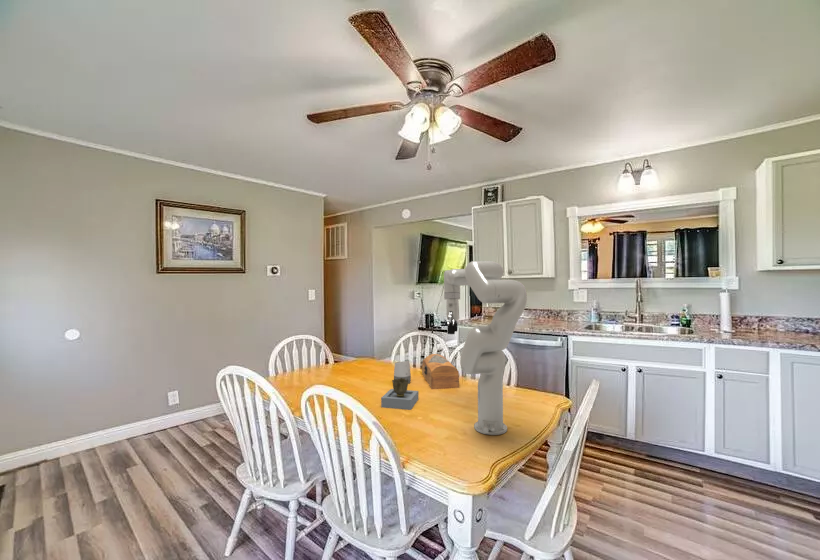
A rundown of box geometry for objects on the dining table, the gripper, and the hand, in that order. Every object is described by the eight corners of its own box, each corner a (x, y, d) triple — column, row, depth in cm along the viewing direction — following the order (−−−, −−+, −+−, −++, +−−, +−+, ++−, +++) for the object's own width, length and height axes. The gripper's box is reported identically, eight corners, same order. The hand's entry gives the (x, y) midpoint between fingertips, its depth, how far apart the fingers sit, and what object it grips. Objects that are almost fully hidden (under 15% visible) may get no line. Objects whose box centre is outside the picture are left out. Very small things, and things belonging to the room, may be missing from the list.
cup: (389, 396, 174) (389, 379, 174) (401, 393, 178) (401, 376, 179) (399, 400, 168) (399, 382, 168) (411, 396, 173) (411, 379, 173)
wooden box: (420, 377, 222) (420, 354, 222) (447, 376, 224) (447, 353, 224) (428, 392, 192) (428, 365, 192) (459, 390, 194) (459, 364, 194)
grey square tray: (411, 411, 165) (410, 400, 165) (381, 409, 168) (381, 397, 168) (418, 401, 178) (418, 390, 178) (390, 399, 182) (390, 388, 182)
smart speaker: (404, 381, 212) (404, 357, 212) (414, 385, 204) (413, 360, 204) (390, 384, 206) (390, 359, 206) (399, 388, 199) (399, 362, 199)
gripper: (457, 297, 165) (458, 335, 164) (462, 295, 181) (462, 330, 181) (441, 297, 166) (441, 335, 166) (447, 295, 183) (447, 330, 183)
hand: (452, 332), depth 174 cm, fingers open, 9 cm apart
